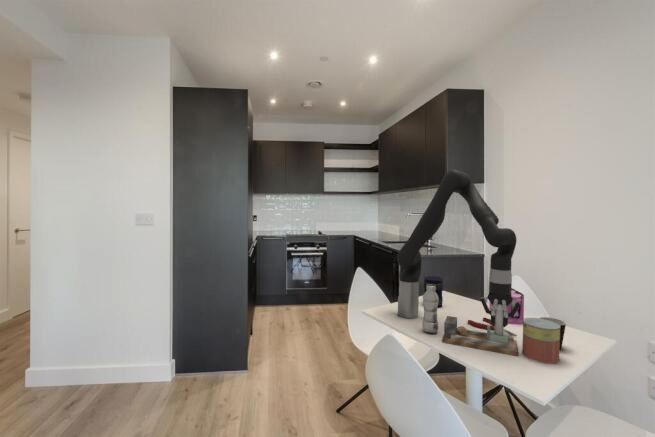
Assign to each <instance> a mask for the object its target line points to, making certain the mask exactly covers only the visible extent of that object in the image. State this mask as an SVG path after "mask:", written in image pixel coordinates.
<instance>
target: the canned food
mask: <svg viewBox="0 0 655 437" xmlns="http://www.w3.org/2000/svg"><path fill="white" fill-rule="evenodd" d="M539 318H540V317H539ZM539 318H538V317H526V318H525V317H524V319H523V324H522V345H521V346H522V348H521V354H522V356H524V357H525V358H527V359H529V360H532V361H535V362H538V363H542V364H551V365H552V364H557V363H559V362H560V350H559V349H560V328H561V326H560V325H559V324H557V323H555V322H552V321H549V320H545V319H539Z"/></svg>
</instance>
